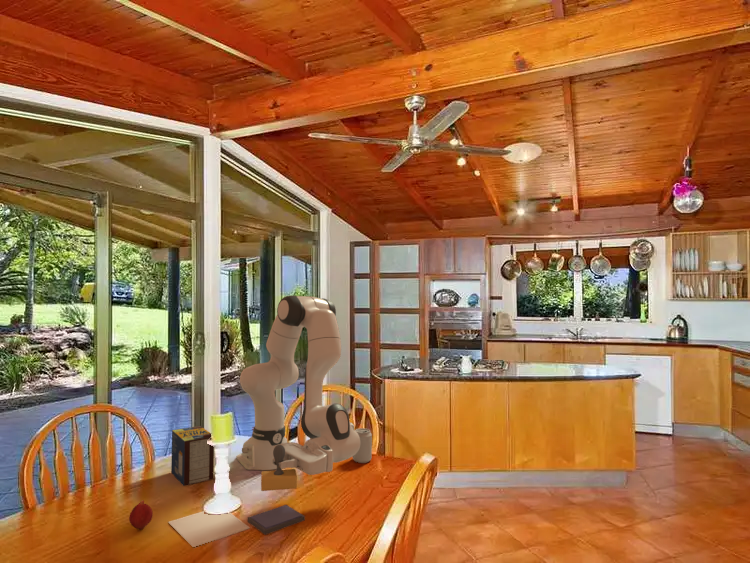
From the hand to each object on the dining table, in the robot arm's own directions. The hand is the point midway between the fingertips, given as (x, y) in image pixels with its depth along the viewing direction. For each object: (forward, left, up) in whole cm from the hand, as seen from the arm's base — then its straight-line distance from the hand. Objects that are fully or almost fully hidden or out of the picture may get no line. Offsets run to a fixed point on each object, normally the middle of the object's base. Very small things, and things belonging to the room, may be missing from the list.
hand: (276, 463), depth 142 cm
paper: (-10, -16, -17) cm, 25 cm away
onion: (-20, -31, -17) cm, 40 cm away
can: (-22, +52, -17) cm, 59 cm away
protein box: (-49, -5, -17) cm, 52 cm away
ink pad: (0, 0, -17) cm, 17 cm away
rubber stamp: (0, +1, -7) cm, 7 cm away
